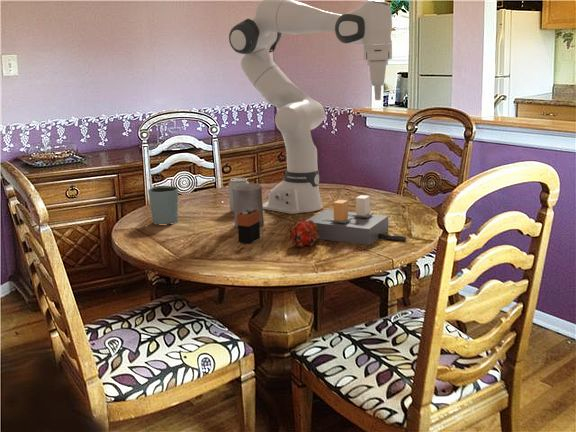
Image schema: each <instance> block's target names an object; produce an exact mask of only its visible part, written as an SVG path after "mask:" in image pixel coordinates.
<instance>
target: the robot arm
mask: <svg viewBox="0 0 576 432" xmlns="http://www.w3.org/2000/svg"><path fill="white" fill-rule="evenodd" d="M392 17H393V16H392V9H391V6H390V4H389V3H388V2H387V1H384V0H366V1H364V3H363V4H362V5H360V6H359V7H357V8H356V9H353V10H352V11H349V12H346V13H343V14H342V13H334V12H329V11H325V10H322V9H320V8H318V7H317V8H316V7H315V6H311V5H308V4H306V3H303V2H300V1H296V0H261V1H260V2H259V3H258V5H257V6H256V10H255V15H254V17H253V18H245V19H244V20H242V21H241V22H239V23H237V24H235V25H234V26H233V27H232V28H231V29H230V31H229V35H228V41H229V45H230V47H231V49H232V50H233V51H235V53H237V54H242V55H243V57H242V58H241V61H240V62H241V63H240V66H241V69H242V70H243V73H244V74H245V76H246V78H247V79H248V80H249V81H250V83H251V84H252V86H253V87H254V88H255V89H256V90H257V91H258V92H259V94H260V95H261V96H262V97H263V98H264V100H265V101H266V102H267V103H268V104H270V105H272V106H274V107H275V108H276V109H278V110H277V112H275V113H276V114H275V117H274V121H275V122H274V123H275V126H276V128H277V129H278V131H280V133H281V136H282V138H283V142H284V146H285V151H286V152H285V153H286V168H287V169H286V170H284V171H283V172H281V173H280V174H281V175H280V176H281V177H283V178H282V181H280V182H279V183H278V184H277V185H276V186H274V187H273V188H272V189H271V190H270V191H269V194H268V201H266V202H263V203H262V204H263V210H268V211H275V212H279V213H284V214H289V215H290V214H291V215H292V214H299V213H300V214H301V213H311V212H315V211H320V210H322V209H323V207H324V206H323V203H322V199H321V195H320V187H319V185H320V171H319V169H318V149H317V146H316V145H315V143H314V140H313V137H312V133H311V131H313V130H314V129H316V128H317V127H319V126H320V125H321V124H322V123H323V122H324V120H325V117H326V116H325V114H326V113H325V108H324V106H323V105H322V103H320V102H319V101H317V100H314V99H313V98H312V97H310V96H309V95H308V94H307V93H306V92H304V91H303V90H302V89H301V88H299V87H298V86H297V85H296V84H294V83H293V81H291V80H290V78H289V77H288V76H287V75H286V74H285V73H284V72H283V71H282V69H280V67H279V66H278V64H276V63H275V62H274V60H273V58H271V56H270V53H273V52H274V51H275V49H276V47H277V45H278V44H279V42H280V40H281V38H282V34H285V35H305V34H306V35H307V34H314V33H332V34H335V36H336V38H337V39H338V41H340V42H341V43H343V44H346V45H363V46H362V47H363V60H364V61H366V62H367V66H369V72H370V73H369V74H370V81H371V86H372V87H373V88H374V89H373V90H374V100H375V101H381V99H382V98H381V97H382V87H383V86H384V85H385V79H386V70H387V66H388V65H389V60H392V59H393V42H392V38H391V37H392V31H393V20H392V19H393V18H392Z"/></svg>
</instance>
